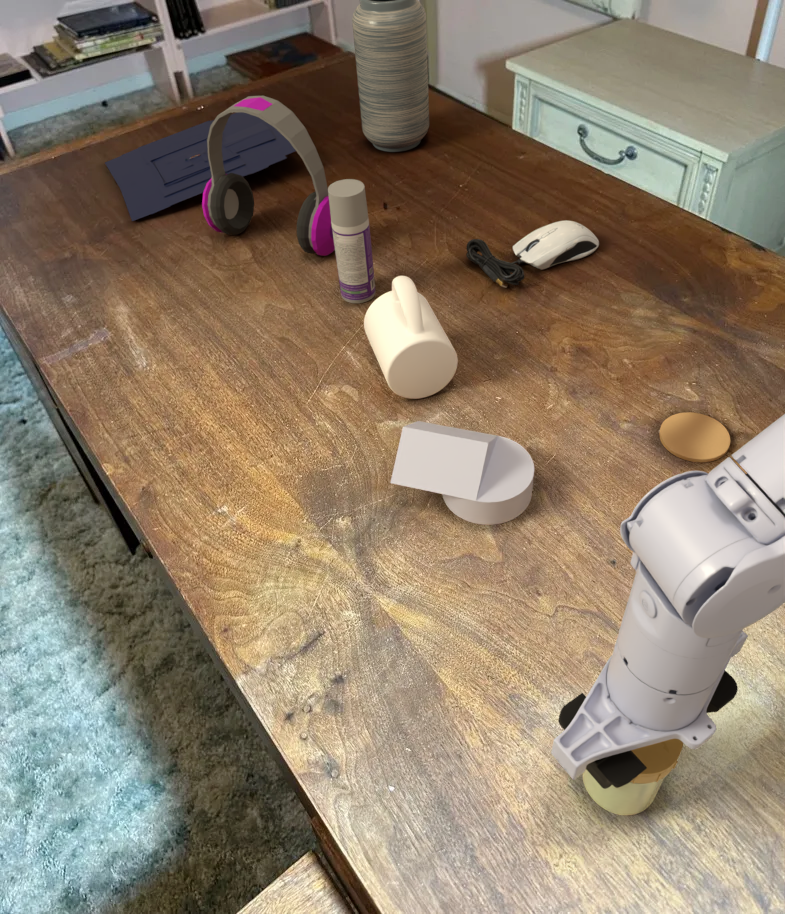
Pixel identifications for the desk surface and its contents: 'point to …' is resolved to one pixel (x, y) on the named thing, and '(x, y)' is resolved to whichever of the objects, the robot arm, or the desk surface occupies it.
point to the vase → (392, 72)
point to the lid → (658, 760)
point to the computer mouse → (536, 251)
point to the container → (352, 240)
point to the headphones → (233, 197)
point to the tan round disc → (694, 437)
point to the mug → (409, 342)
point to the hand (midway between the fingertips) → (629, 748)
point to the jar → (622, 795)
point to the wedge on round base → (466, 471)
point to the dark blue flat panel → (193, 162)
